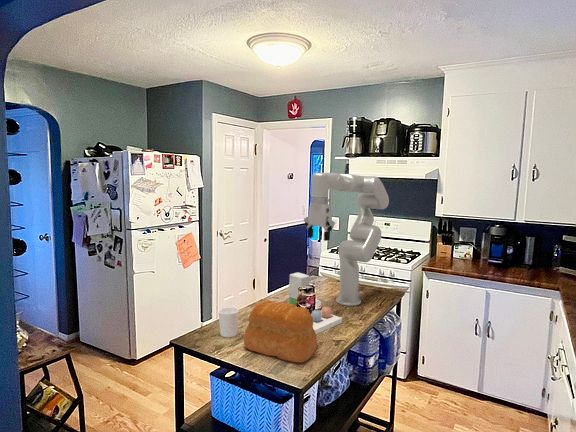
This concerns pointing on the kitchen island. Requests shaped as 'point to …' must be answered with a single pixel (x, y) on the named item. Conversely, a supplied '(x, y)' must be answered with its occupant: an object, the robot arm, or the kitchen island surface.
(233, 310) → the white cup
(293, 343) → the bread
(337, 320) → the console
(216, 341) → the kitchen island surface
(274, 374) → the kitchen island surface
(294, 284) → the skincare box
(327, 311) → the rust button
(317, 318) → the slate button
